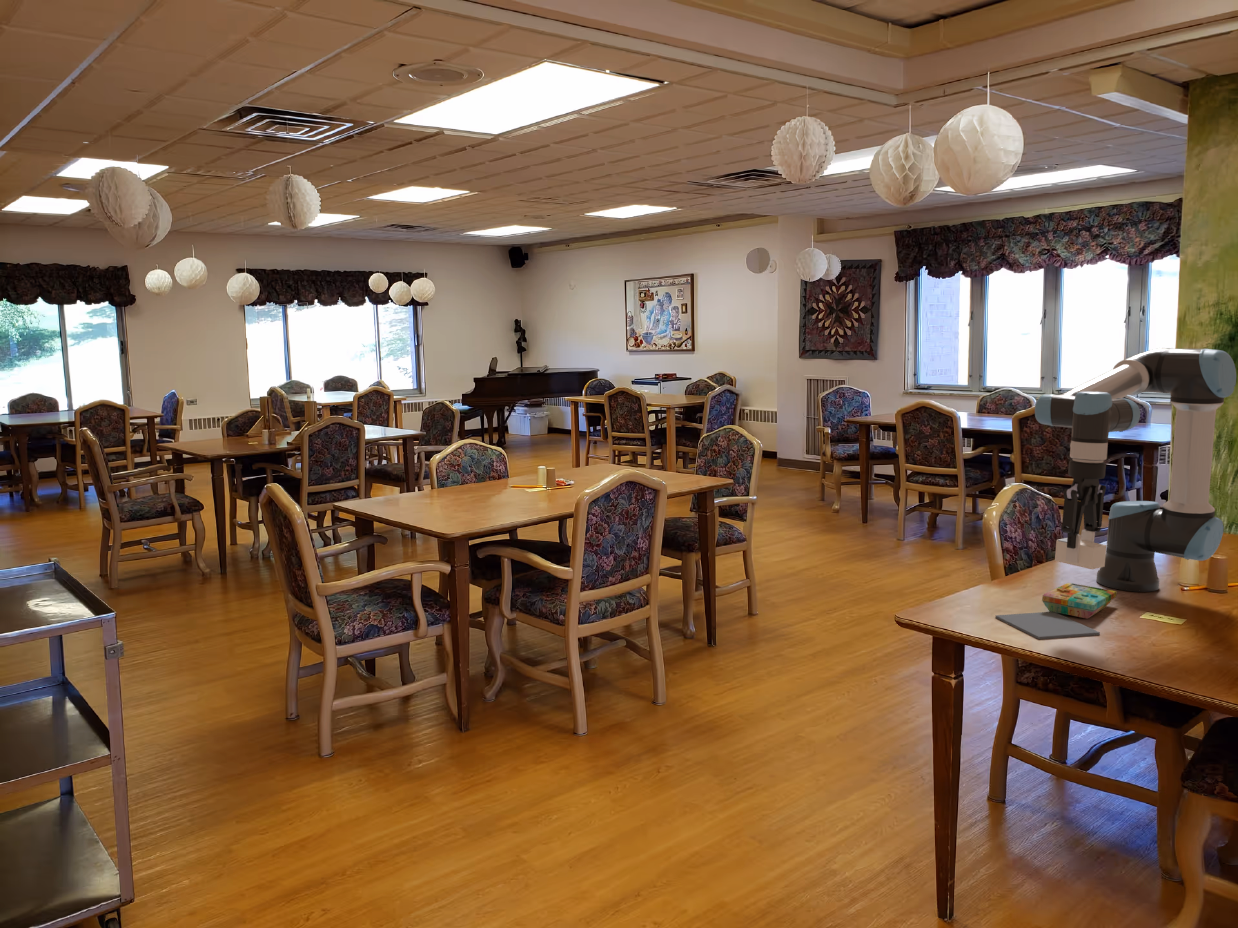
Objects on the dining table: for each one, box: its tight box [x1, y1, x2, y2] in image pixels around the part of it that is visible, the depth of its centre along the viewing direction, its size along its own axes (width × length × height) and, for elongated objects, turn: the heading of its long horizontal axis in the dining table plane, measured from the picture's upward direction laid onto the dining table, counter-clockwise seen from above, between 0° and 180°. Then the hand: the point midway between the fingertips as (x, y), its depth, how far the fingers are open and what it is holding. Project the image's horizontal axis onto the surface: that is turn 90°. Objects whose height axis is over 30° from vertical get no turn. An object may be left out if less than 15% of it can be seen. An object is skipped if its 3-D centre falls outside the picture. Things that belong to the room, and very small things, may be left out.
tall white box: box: [1054, 537, 1107, 570], centre depth 215 cm, size 9×5×5 cm, turn 33°
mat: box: [995, 611, 1101, 640], centre depth 221 cm, size 16×16×1 cm
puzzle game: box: [1041, 582, 1118, 620], centre depth 234 cm, size 12×5×20 cm
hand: (1079, 559), depth 215 cm, fingers closed on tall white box, 5 cm apart
